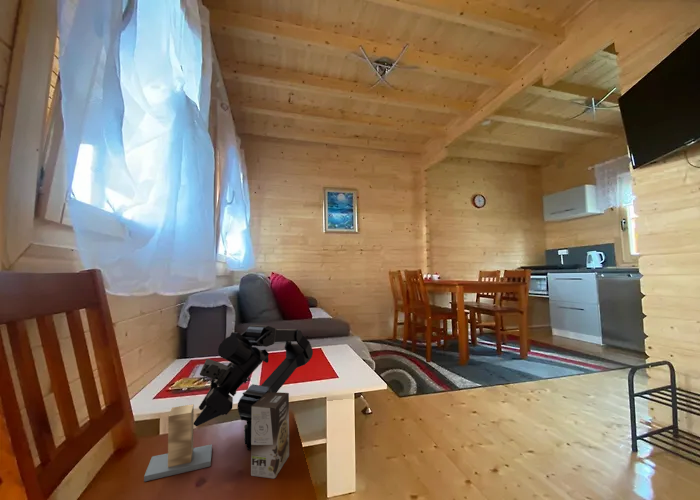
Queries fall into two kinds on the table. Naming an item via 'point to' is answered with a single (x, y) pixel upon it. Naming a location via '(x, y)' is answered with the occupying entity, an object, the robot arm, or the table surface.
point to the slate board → (161, 469)
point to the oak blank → (180, 435)
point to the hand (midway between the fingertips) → (197, 416)
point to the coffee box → (269, 434)
